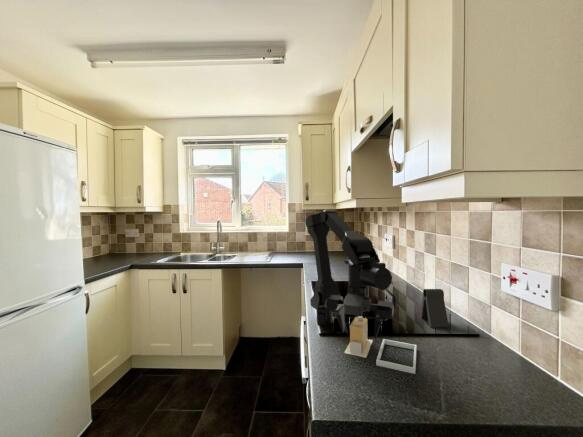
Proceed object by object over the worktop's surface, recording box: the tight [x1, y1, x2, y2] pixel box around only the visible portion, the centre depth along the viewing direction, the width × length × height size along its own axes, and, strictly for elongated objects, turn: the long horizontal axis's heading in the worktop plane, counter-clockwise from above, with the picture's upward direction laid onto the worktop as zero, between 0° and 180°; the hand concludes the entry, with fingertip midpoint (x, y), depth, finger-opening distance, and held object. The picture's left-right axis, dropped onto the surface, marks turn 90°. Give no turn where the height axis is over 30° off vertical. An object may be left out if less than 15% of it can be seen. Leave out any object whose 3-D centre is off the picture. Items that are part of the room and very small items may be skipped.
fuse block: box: [343, 339, 374, 359], centre depth 78 cm, size 11×6×4 cm, turn 154°
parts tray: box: [375, 338, 417, 375], centre depth 73 cm, size 13×9×2 cm
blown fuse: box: [349, 315, 368, 353], centre depth 78 cm, size 7×4×8 cm, turn 154°
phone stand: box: [418, 288, 450, 329], centre depth 97 cm, size 9×6×12 cm, turn 178°
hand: (358, 334), depth 78 cm, fingers open, 9 cm apart
